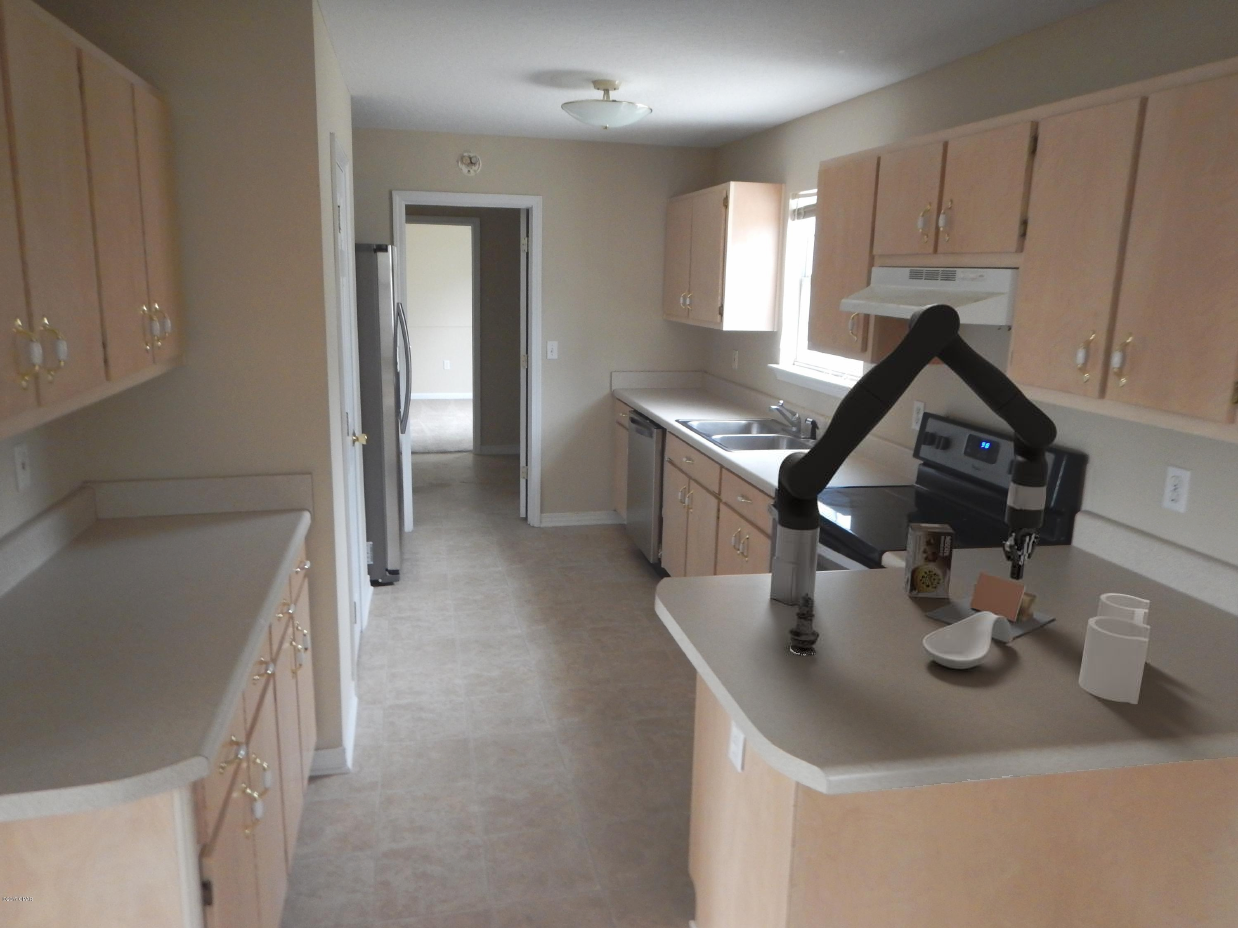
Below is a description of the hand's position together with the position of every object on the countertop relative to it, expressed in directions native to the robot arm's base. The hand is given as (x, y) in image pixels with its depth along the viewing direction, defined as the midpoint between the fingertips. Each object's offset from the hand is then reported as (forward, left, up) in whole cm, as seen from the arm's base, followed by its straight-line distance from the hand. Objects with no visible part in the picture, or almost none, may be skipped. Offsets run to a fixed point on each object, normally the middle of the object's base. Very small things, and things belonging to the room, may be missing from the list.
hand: (1016, 578), depth 198 cm
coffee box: (-8, +17, -7) cm, 20 cm away
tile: (-8, 0, -3) cm, 8 cm away
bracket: (-17, -28, -7) cm, 34 cm away
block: (-5, 0, -7) cm, 8 cm away
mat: (-10, 0, -7) cm, 12 cm away
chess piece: (-57, +13, -7) cm, 59 cm away
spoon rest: (-32, -8, -7) cm, 34 cm away
